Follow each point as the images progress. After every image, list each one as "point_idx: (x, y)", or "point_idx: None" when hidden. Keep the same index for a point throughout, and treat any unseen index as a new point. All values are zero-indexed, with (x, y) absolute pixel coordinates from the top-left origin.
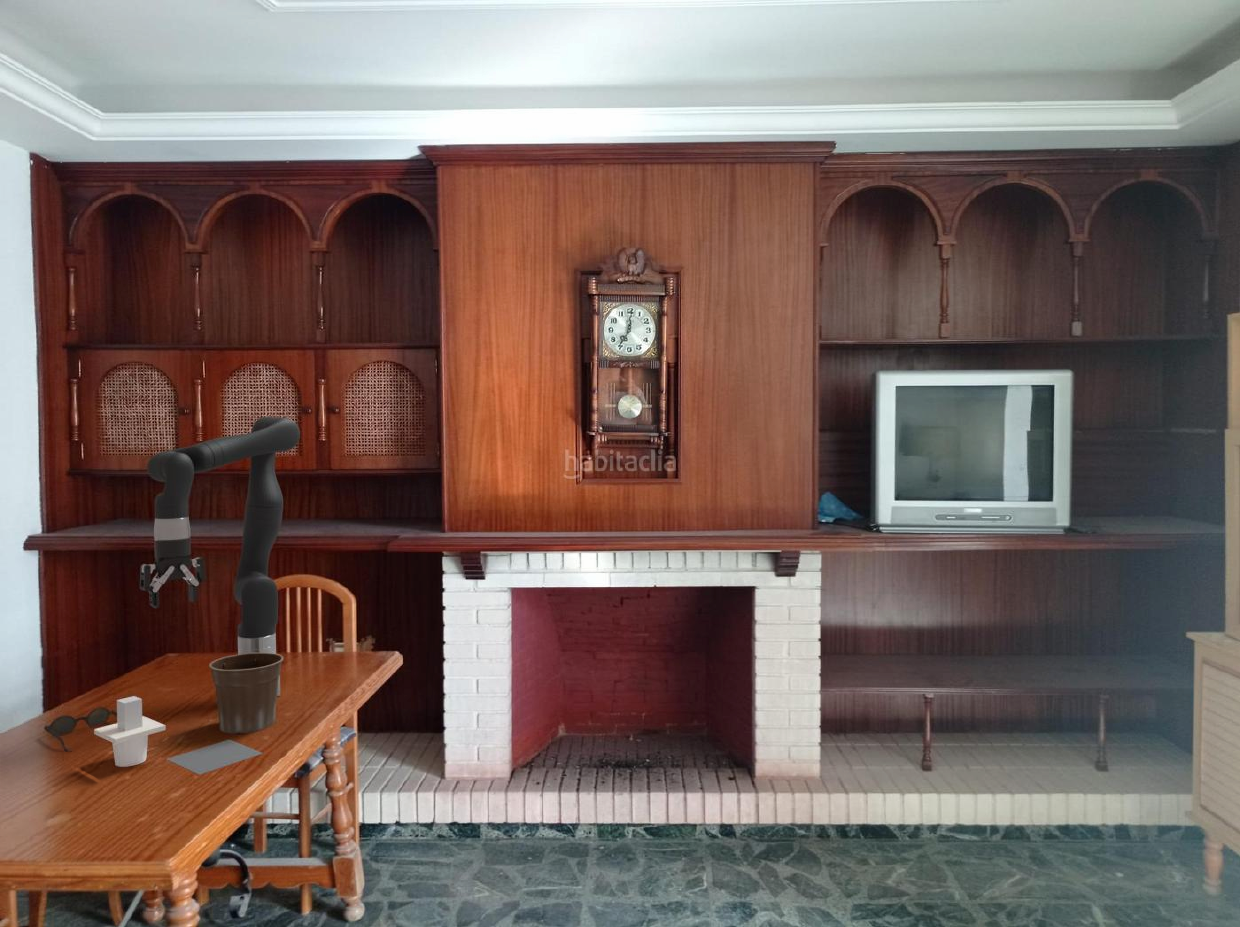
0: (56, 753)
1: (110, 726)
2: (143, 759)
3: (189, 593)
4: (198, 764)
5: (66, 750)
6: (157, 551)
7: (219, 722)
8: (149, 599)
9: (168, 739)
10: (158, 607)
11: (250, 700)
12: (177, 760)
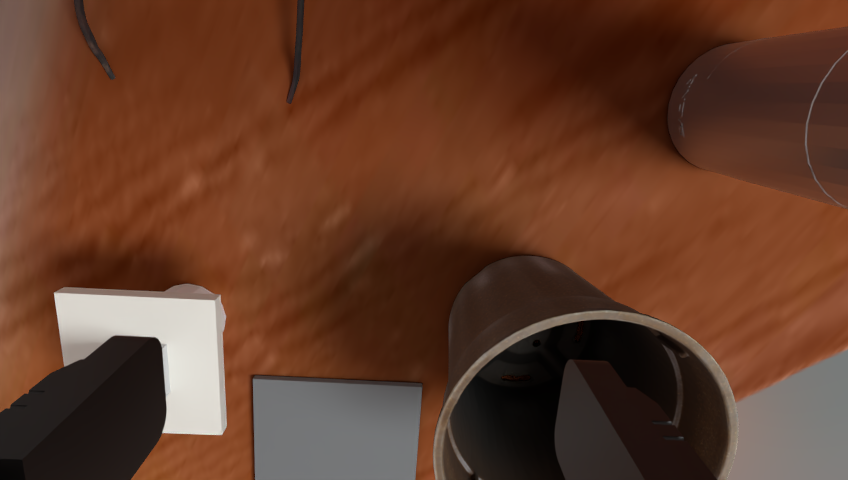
0: (73, 51)
1: (101, 309)
2: None
3: (596, 430)
4: (284, 467)
5: (99, 59)
6: None
7: (456, 307)
8: (12, 405)
9: (337, 228)
10: (157, 424)
11: (498, 451)
12: (265, 408)
